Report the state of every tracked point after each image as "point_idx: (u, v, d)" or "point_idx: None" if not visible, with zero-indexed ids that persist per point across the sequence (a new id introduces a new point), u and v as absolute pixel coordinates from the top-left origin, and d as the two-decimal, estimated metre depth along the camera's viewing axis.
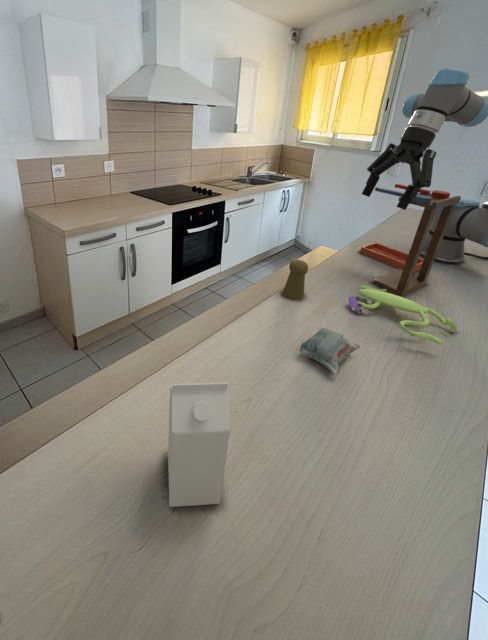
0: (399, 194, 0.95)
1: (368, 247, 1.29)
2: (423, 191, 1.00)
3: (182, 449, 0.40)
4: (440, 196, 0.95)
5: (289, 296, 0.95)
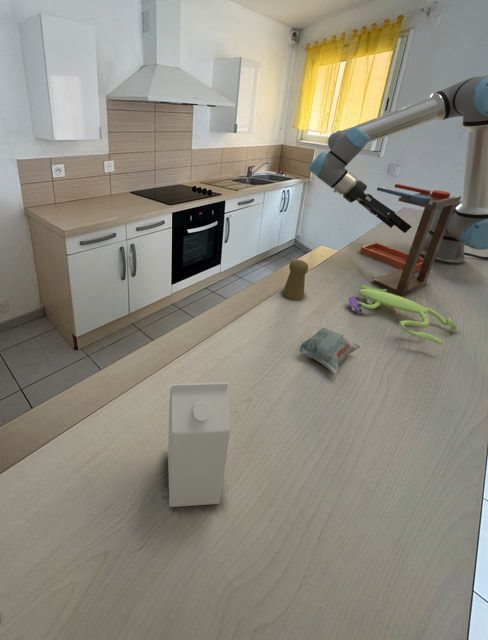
0: (399, 194, 0.95)
1: (368, 247, 1.29)
2: (423, 191, 1.00)
3: (182, 449, 0.40)
4: (440, 196, 0.95)
5: (289, 296, 0.95)
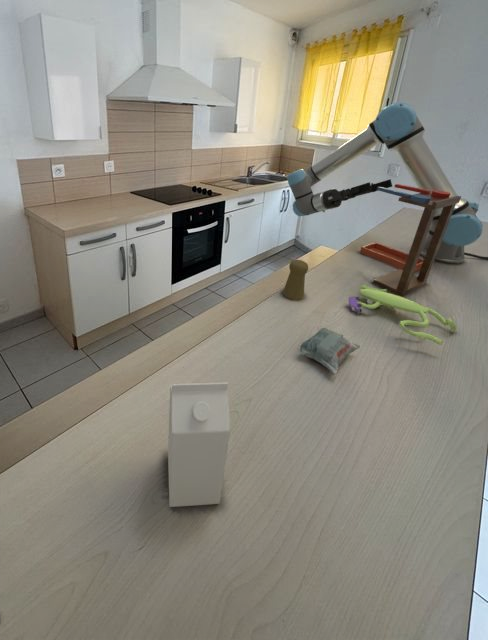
0: (399, 194, 0.95)
1: (368, 247, 1.29)
2: (423, 191, 1.00)
3: (182, 449, 0.40)
4: (440, 196, 0.95)
5: (289, 296, 0.95)
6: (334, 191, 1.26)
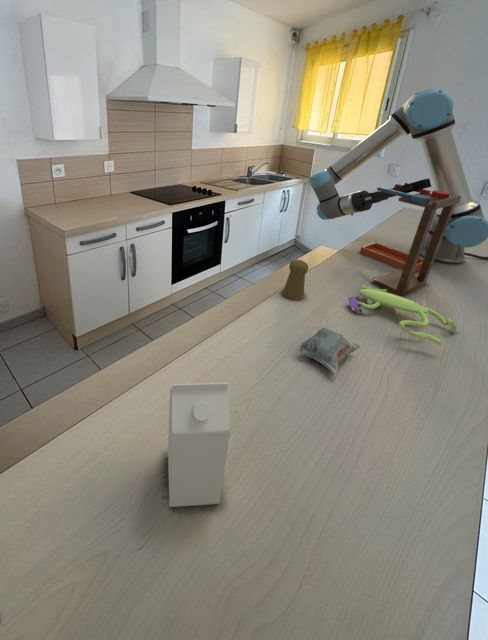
0: (399, 194, 0.95)
1: (368, 247, 1.29)
2: (423, 191, 1.00)
3: (182, 449, 0.40)
4: (440, 196, 0.95)
5: (289, 296, 0.95)
6: (364, 193, 1.16)
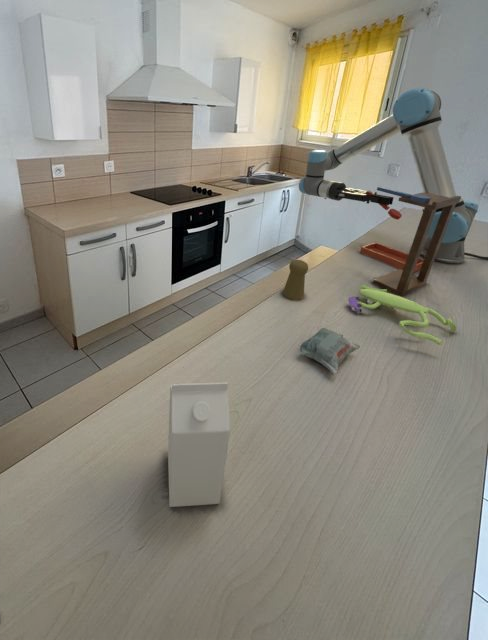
0: (399, 194, 0.95)
1: (368, 247, 1.29)
2: (384, 206, 1.20)
3: (182, 449, 0.40)
4: (393, 216, 1.16)
5: (289, 296, 0.95)
6: (342, 186, 1.33)
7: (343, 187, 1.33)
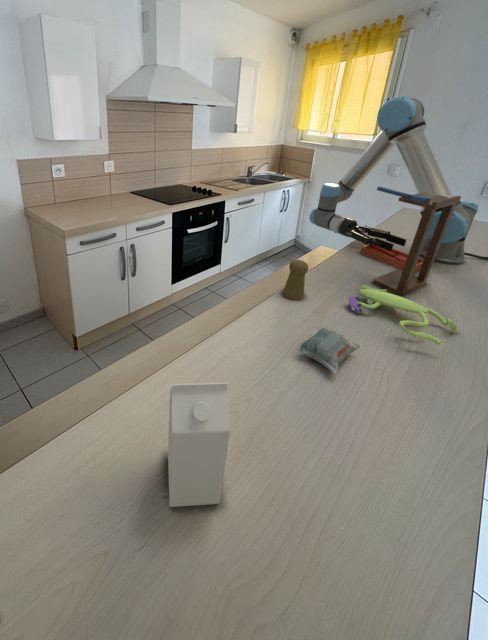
0: (399, 194, 0.95)
1: (368, 247, 1.29)
2: (389, 254, 1.22)
3: (182, 449, 0.40)
4: None
5: (289, 296, 0.95)
6: (353, 223, 1.33)
7: (354, 224, 1.34)
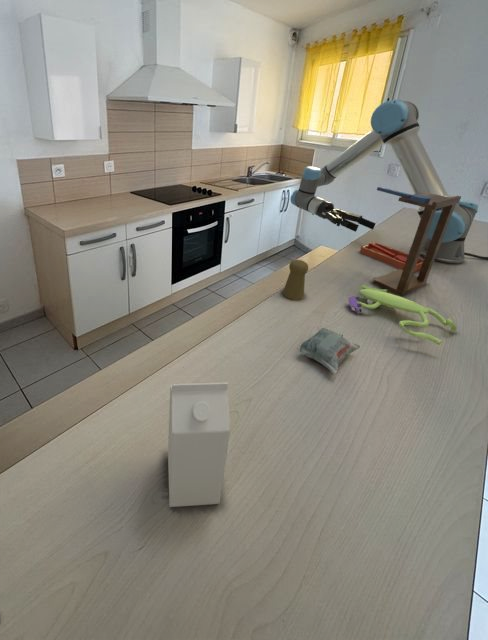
0: (399, 194, 0.95)
1: (368, 247, 1.29)
2: (389, 254, 1.22)
3: (182, 449, 0.40)
4: None
5: (289, 296, 0.95)
6: (330, 206, 1.41)
7: (331, 207, 1.42)
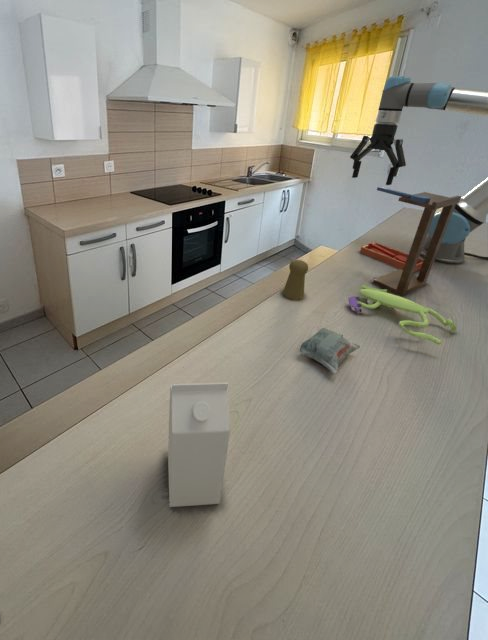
0: (399, 194, 0.95)
1: (368, 247, 1.29)
2: (389, 254, 1.22)
3: (182, 449, 0.40)
4: None
5: (289, 296, 0.95)
6: None
7: None
